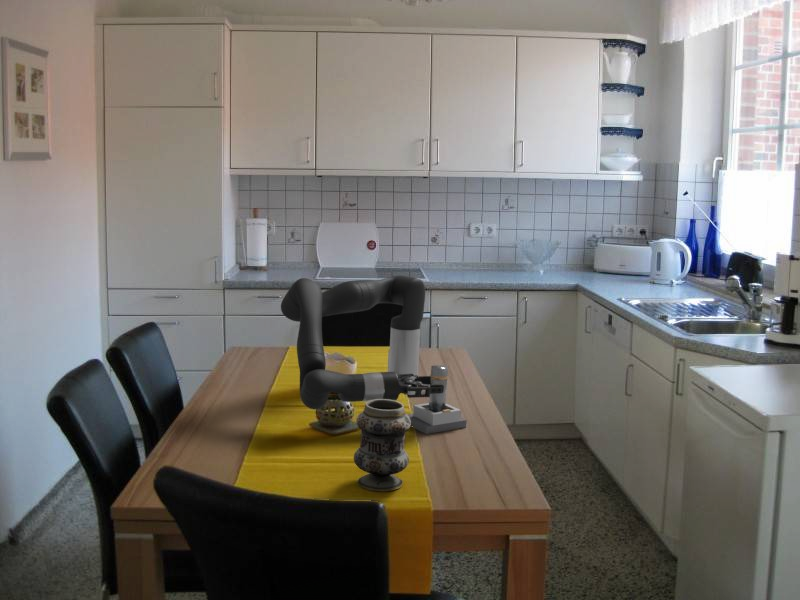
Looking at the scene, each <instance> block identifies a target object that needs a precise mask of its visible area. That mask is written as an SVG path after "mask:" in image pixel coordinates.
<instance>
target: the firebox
mask: <svg viewBox="0 0 800 600" xmlns="http://www.w3.org/2000/svg"><path fill="white" fill-rule="evenodd" d="M406 414H407V415H408V416H409V418H410V420H411V426H413V427H414V428H413V427H412V428H413V429H415V430H417V431H419V432H421V433H423V434H425V435H428V434H435V433H441V432H447V431H452V430H459V429H465V428H467V421H468V420H467V419H465V418H462V409H459V408H457V407H455V406H453V405H450V404H448V403H446V406H445V410H443V411H442V412H435V413H434V412H432V411H430V410H429V402H427V403H420V404H414V405H413V413H406ZM411 426H410V427H411Z"/></svg>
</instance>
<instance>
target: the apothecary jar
mask: <svg viewBox="0 0 800 600" xmlns="http://www.w3.org/2000/svg"><path fill="white" fill-rule="evenodd" d="M407 414H408V413H406V411H405V405H404V404H403V403H402V402H400V401H397V400H395V401H394V400H389V399H374V400H369V401H365V404H364V408H363V410H362V411H361V412H360V413H359V414H358V415H357V416H356V422H355V423H356V426H357V427H358V428H359V429H360V430H361V433H360V434H361V436H360V445H359V447H358V448H357V449H356V450H355V452H354V455H353V462H354V465H356V466H357V468H359V469H360V470H361V471H363V472H365V473H368V474H365V475H362V476H361V477H359V478H358V480H357V485H359V487H361V488H363V489H365V490H368V491H372V492H392V491H396V489H397V490H400V489H401V488H402V487H403V485H404V481H403V480H402V479H401V478H399V477H398V475H396V474H398V473H401V472H403V471H404V470H405V469H406V468H407V466H408V465H409V464H410V463H409V462H410V456H409V454H408V453H407V451H406V450H405V439H406V438H405V437H406V432H407V431H409V429H410V428H411V420H410V418H409V416H408V415H407ZM401 486H402V487H401ZM400 487H401V488H400Z"/></svg>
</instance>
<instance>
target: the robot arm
mask: <svg viewBox="0 0 800 600" xmlns="http://www.w3.org/2000/svg"><path fill="white" fill-rule="evenodd" d="M425 301H426V286H425V283H424V281H423V280H421V278H418V277H412V276H407V275H395V276H389V277H387V278H382V279H358V280H347V281H344V282H341V283H339V284H338V283H337V284H336V285H334V286H333V287H330V288H329V289H326V290H325V291H322V289H321V287H320V285H319V284H318V283H317V282H315V281H313V279H310V278H305V277H304V278H303V277H302V278H299V279H297V280H295V282H293V284H292V285H291V286H290V288H289V289H288V290H287V292H286V293H285V295H284V297H283V298H282V300H281V304H280V311H281V312H282V313H281V314H282V315H283V316H285V318H286V319H288V320H290V321H293V322H297V323H299V328H298V333H297V341H296V355H297V362H298V367H299V396H300V399H301V402H302V404H303V405H304V406H305V407H307V408H308V409H310V410H319V409H322V408H323V407H324V406H325V405H326V404H327V402H328V400H329V399H328V398H329V395H330V393H335V394H337V395H338V398H339V399H340V401H342V402H345V403H353V402H355V403H356V402H367V401H369V400H374V399H389V400H394V401H397V400H398V398H399V396H400V394H403V395H405V396H407V398H408V399H410V398H411V399H412V398H414V399H415V398H429V397H430V394H436V393H443V391H444V386H443V385H442V384H437V385H430V381H431V378H430V375H420V376H419V363H420V341H421V323H422V321H423V318H424V310H425ZM378 304H394V305H398V306H402V312H401V314H399V315H395V316H393V317H392V318H391V321H390V337H389V338H390V339H389V349H388V350H387V352H388V356H387V371H379V372H378V371H377V372H373V371H372V372H366V373H365V372H364V373H352V374H351V373H350V374H345V373H342V372H337V371H333V370H329V369H326V368H327V367H326V366H327V365H326V363H327V362H326V356H325V349H324V343H323V330H322V329H323V326H322V325H323V317H328V316H334V315H341V314H349V313H357V312H365V311H369V310H371V309H372V308H374V307H375V306H376V305H378Z"/></svg>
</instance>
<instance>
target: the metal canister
mask: <svg viewBox="0 0 800 600" xmlns="http://www.w3.org/2000/svg"><path fill="white" fill-rule="evenodd" d="M430 369H431V370H430V375H429V376H430V378H431V381H430V385H437V384H442V385H443V386H444V391H443V393H436V394H430V397H428V403H429V410H430V411H432V412H434V413H435V412H442V411H443V410H445V406H446V404H447V393H448V392H447V390H448V379H449V374H448V372H449V367H448V366H446V365H439V364H434V365H432V366H431V368H430Z"/></svg>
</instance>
